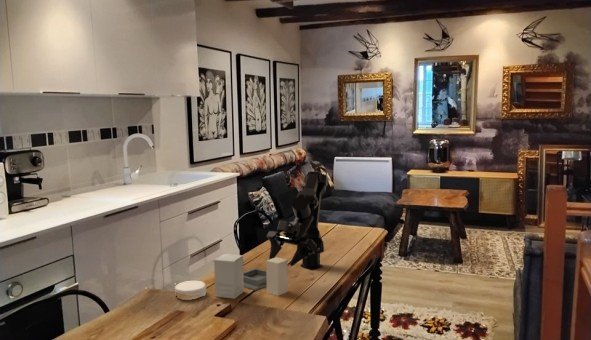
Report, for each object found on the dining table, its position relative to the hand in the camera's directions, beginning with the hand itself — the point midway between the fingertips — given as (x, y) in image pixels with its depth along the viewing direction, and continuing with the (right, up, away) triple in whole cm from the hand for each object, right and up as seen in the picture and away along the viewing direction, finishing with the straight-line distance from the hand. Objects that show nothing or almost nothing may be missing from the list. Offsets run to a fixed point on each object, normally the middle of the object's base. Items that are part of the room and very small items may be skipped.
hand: (280, 262), depth 159 cm
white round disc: (-30, -11, -2) cm, 32 cm away
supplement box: (-17, -10, -2) cm, 20 cm away
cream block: (-1, -10, 0) cm, 10 cm away
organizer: (-9, -9, +10) cm, 16 cm away
